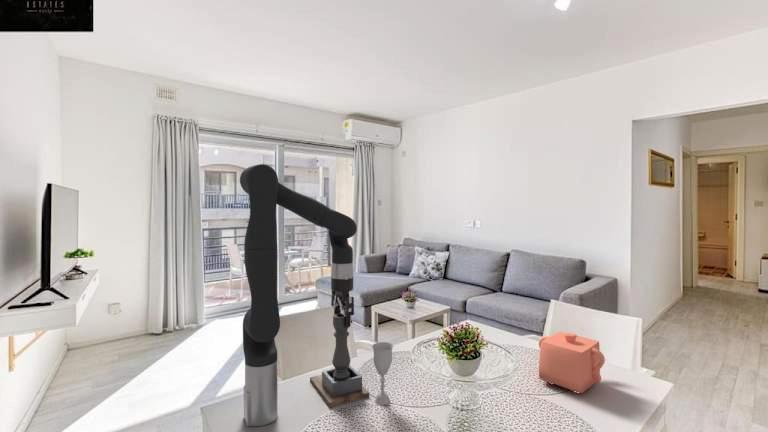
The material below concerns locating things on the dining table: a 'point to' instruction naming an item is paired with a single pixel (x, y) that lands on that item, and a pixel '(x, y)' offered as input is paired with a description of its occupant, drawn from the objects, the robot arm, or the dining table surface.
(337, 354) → the candle holder
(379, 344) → the chalice
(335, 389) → the collar
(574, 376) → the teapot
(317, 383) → the keeper plate
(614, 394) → the dining table surface
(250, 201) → the robot arm
